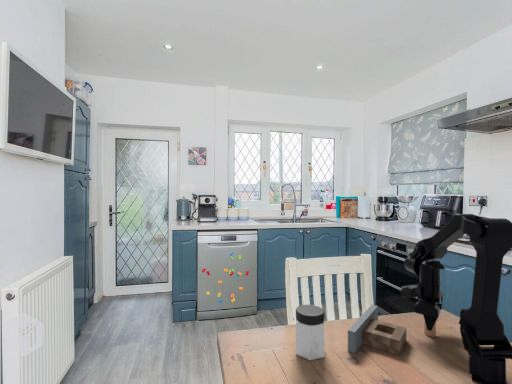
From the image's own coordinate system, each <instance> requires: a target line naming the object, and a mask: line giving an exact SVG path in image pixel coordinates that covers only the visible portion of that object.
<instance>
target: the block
mask: <svg viewBox="0 0 512 384" xmlns="http://www.w3.org/2000/svg"><path fill="white" fill-rule="evenodd" d="M406 342H407V327H405V326H401V325H397V324H393V323H390V322H386V321H382V320H379V319H378V320H375V319H372V320H371V321H370V323H369V324H368V325H367V326H366V327H365V329H364V330H363V343H362V345H367V346H369V347H373V348H376V349H379V350H383V351H385V352H389V353H391V354H395V355H398V356H400V354H401V353H402V351H403V349H404V346H405V344H406Z"/></svg>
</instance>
